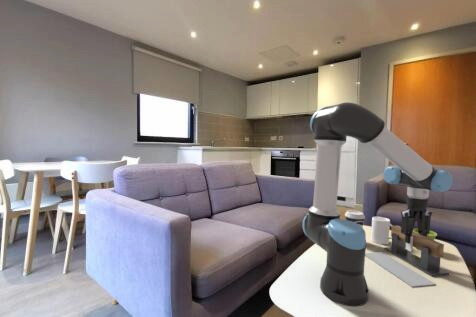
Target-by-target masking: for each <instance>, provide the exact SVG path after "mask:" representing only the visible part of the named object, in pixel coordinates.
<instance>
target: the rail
mask: <svg viewBox="0 0 476 317" xmlns="http://www.w3.org/2000/svg"><path fill="white" fill-rule="evenodd" d="M390 229H391V230H390V237H392V233H396V234H398V235H399V240H400V241H402V242H404V243H406V242H405V234H402V233H401V225H393V226H390ZM408 233H409V232H408ZM412 236H413V248H415V249H416V248H417V249H416V250H418V249H419V250H418V251H420V250H421V246H424V247H426V248H428V249H430V255H432V256H434V257H441V258H443V257H444V247H445V244H444V243H442V242H440V241H436V240H435V239H434V240H432V239H429V238H427V237H424V236H422V235H420V234H417V233H415V232H412Z"/></svg>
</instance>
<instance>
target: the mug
mask: <svg viewBox="0 0 476 317" xmlns="http://www.w3.org/2000/svg"><path fill="white" fill-rule="evenodd" d="M371 218H372V219H371V233H370V234H371V236H370V241H371V242H373V243H376V244H380V245H389V244H390V240H392V236H390V231H391V230H390V229H391V226H394V225H393V224H392V223H391V220H390V219H389V218H387V217H383V216H372V217H371Z"/></svg>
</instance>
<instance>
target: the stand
mask: <svg viewBox="0 0 476 317" xmlns="http://www.w3.org/2000/svg"><path fill="white" fill-rule="evenodd" d="M391 237H392V239H391V246H388V247H386V246H385V247H383V250H384V251H386V252H388V253H389V254H391V255H393V256H395V257H396V258H398V259H400V260H402V261H403V262H406V263H407V264H409V265H411V266H412V267H414V268H416V269H418V270H420V271H421V272H423V273H425V274H426V275H428V276H430V277H431V278H433V277H443V276H450V272H448V271H447V270H444V269H443V268H441V258H442V257H434V256H432V255H430V249H428V248H426V247H424V246H421V251H420V256H417V255H416V254H414V253H412V252H410V251H408V250H406V249H405V248H406V243H404V242H402V241H400V240H399V235H398V234H396V233H392V236H391Z"/></svg>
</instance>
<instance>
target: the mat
mask: <svg viewBox="0 0 476 317" xmlns="http://www.w3.org/2000/svg"><path fill="white" fill-rule="evenodd" d="M365 258H368V259H370V260H371V261H372V262H374V263H375V264H377V265H378V266H379V267H380V268H382V269H384V270H385V271H386V272H388V273H390V274H391V275H393V276H394V277H396V278H397V279H399V280H401V281H402V282H403V283H405V284H406V285H408V286H410V287H411V288H418V287H419V288H420V287H427V286H436V285H437V284H436V283H435V282H433V281H431V280H430V279H428V278H426V277H425V276H423V275H421V274H420V273H418V272H416V271H415V270H413V269H412V268H409V267H407V266H406V265H405V264H403V263H401V262H399V261H397V260H396V259H395V258H392V257H391V256H390V255H388V254H386V253H384V252H382V251H377V252H375V251H374V252H365Z"/></svg>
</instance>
